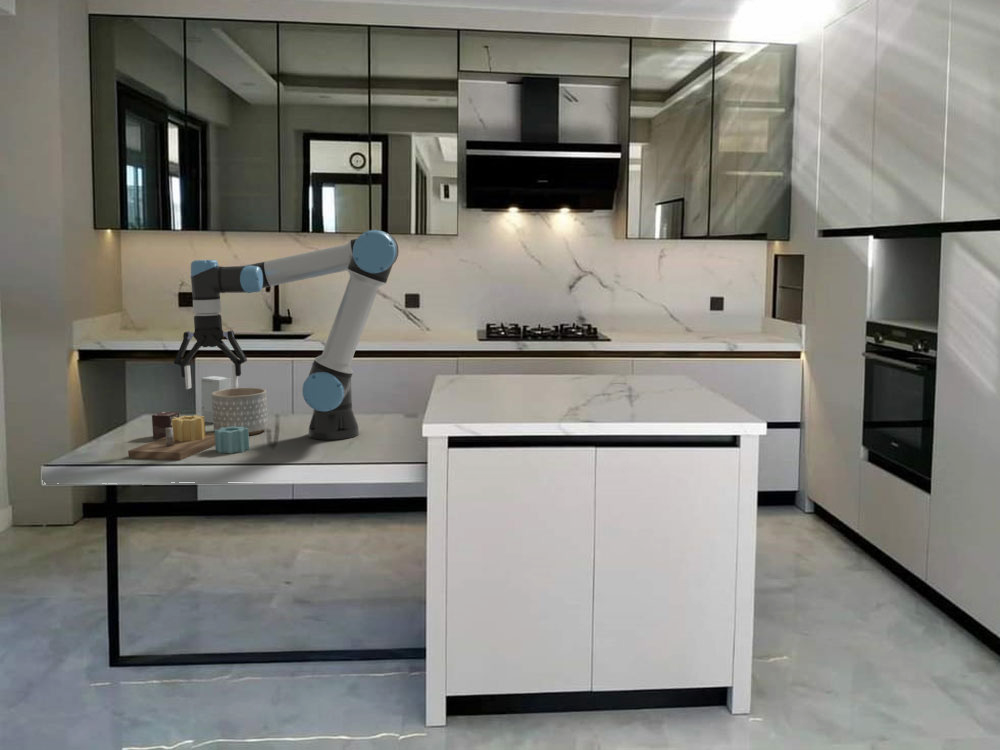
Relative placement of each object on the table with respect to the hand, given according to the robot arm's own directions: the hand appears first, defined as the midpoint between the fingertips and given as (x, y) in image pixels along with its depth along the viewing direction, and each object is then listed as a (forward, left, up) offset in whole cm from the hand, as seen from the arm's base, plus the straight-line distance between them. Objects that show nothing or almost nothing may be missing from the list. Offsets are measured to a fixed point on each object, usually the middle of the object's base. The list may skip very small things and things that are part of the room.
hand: (212, 388), depth 268 cm
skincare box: (+19, -35, -18) cm, 44 cm away
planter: (+3, -21, -18) cm, 28 cm away
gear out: (+9, -1, -15) cm, 18 cm away
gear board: (+9, +4, -17) cm, 20 cm away
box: (+22, -10, -18) cm, 30 cm away
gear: (-7, +3, -17) cm, 19 cm away
